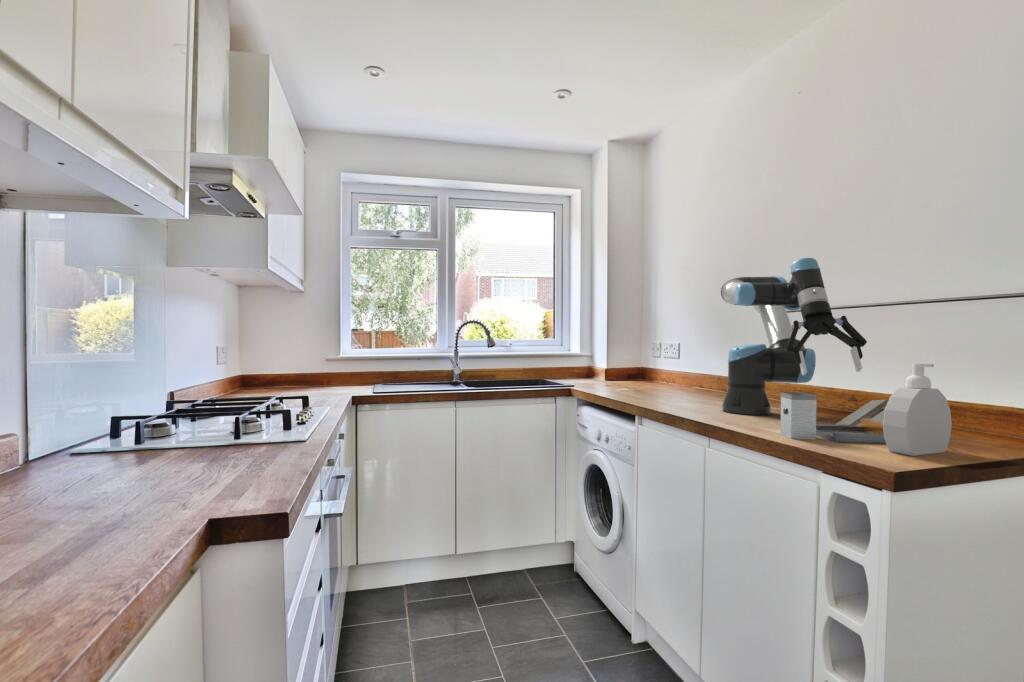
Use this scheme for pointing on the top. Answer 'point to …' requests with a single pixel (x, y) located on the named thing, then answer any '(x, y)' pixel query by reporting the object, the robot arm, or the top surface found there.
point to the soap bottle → (917, 417)
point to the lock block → (798, 415)
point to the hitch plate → (853, 432)
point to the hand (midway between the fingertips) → (831, 372)
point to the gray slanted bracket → (866, 413)
